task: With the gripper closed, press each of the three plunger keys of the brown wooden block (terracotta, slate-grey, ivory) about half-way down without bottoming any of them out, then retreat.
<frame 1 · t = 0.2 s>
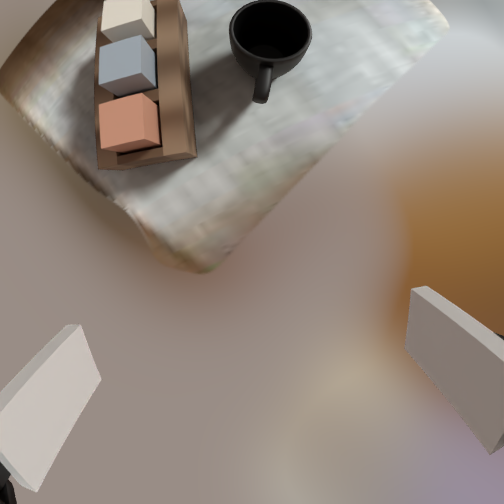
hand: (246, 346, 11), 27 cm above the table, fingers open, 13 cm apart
mug: (262, 74, 33), on the table
ivory key: (132, 22, 23), point 8 cm above the table, slide at 0.0 cm
brown wooden block: (152, 89, 33), on the table
slate key: (131, 70, 25), point 8 cm above the table, slide at 0.0 cm
terracotta key: (133, 126, 26), point 8 cm above the table, slide at 0.0 cm
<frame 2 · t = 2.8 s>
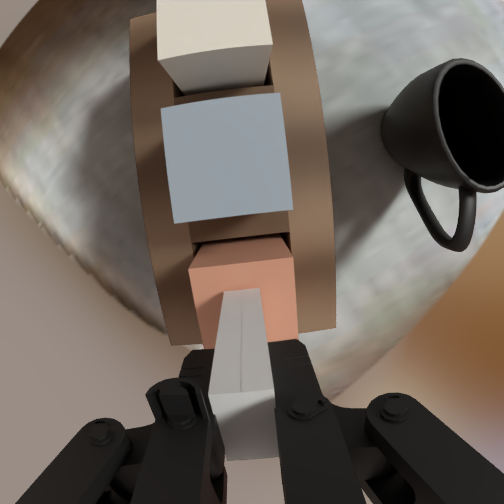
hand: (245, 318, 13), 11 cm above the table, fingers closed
mug: (404, 156, 22), on the table
ivory key: (217, 40, 12), point 8 cm above the table, slide at 0.0 cm
brown wooden block: (235, 166, 21), on the table
slate key: (230, 160, 14), point 8 cm above the table, slide at 0.0 cm
terracotta key: (245, 283, 16), point 7 cm above the table, slide at 1.1 cm, touching gripper
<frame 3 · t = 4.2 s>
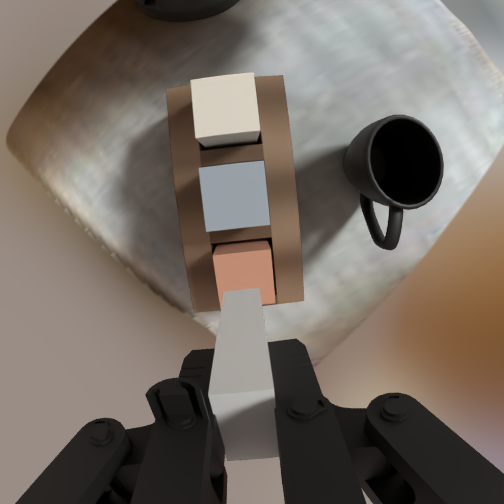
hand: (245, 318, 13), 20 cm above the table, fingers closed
mug: (362, 181, 31), on the table
ivory key: (227, 114, 22), point 8 cm above the table, slide at 0.0 cm
brown wooden block: (237, 191, 31), on the table
slate key: (235, 194, 23), point 8 cm above the table, slide at 0.0 cm
terracotta key: (244, 267, 27), point 6 cm above the table, slide at 1.8 cm
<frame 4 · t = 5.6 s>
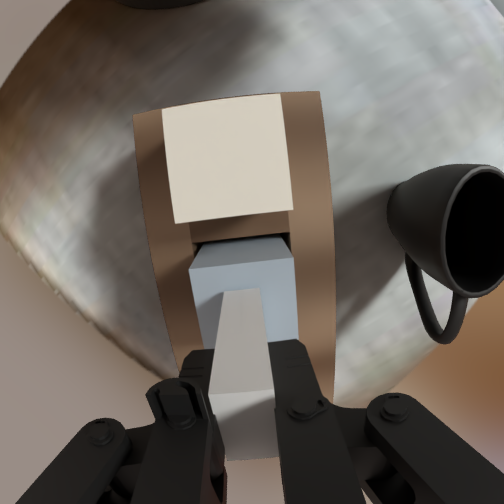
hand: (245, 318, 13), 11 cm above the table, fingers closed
mug: (407, 233, 23), on the table
ivory key: (230, 161, 14), point 8 cm above the table, slide at 0.0 cm
brown wooden block: (245, 252, 23), on the table
slate key: (246, 283, 16), point 7 cm above the table, slide at 1.0 cm, touching gripper
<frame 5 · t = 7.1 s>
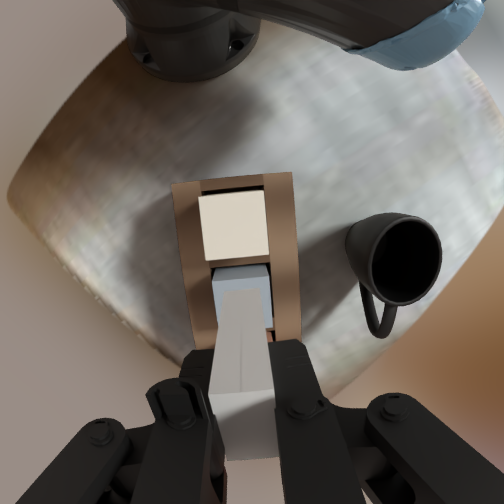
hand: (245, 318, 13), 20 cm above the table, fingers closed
mug: (362, 258, 33), on the table
ivory key: (235, 220, 24), point 8 cm above the table, slide at 0.0 cm
brown wooden block: (242, 271, 33), on the table
slate key: (242, 290, 27), point 6 cm above the table, slide at 1.8 cm
terracotta key: (249, 352, 28), point 6 cm above the table, slide at 1.8 cm
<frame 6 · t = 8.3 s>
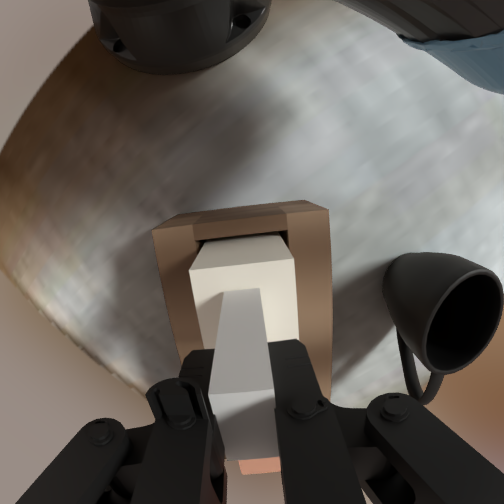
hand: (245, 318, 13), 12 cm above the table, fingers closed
mug: (400, 299, 26), on the table
ivory key: (246, 284, 16), point 8 cm above the table, slide at 0.2 cm, touching gripper
brown wooden block: (254, 322, 26), on the table
terracotta key: (265, 425, 21), point 6 cm above the table, slide at 1.8 cm
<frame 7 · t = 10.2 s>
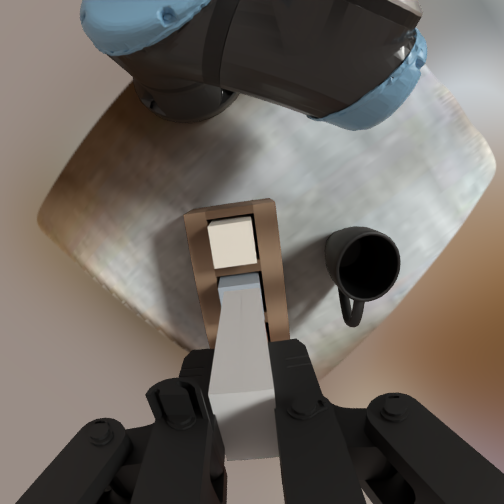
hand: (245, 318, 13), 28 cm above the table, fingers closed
mug: (340, 261, 41), on the table
ivory key: (233, 238, 34), point 6 cm above the table, slide at 1.8 cm
brown wooden block: (242, 276, 41), on the table
slate key: (241, 292, 35), point 6 cm above the table, slide at 1.8 cm
terracotta key: (249, 340, 37), point 6 cm above the table, slide at 1.8 cm
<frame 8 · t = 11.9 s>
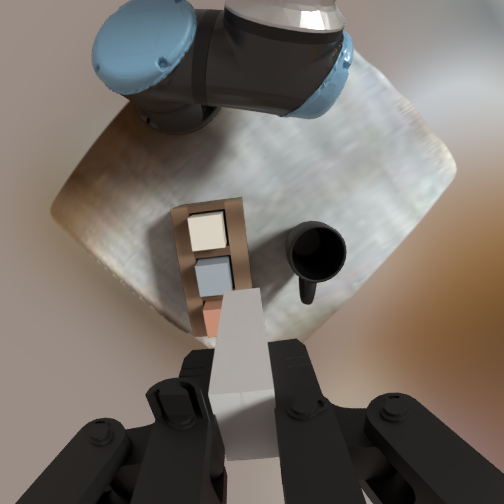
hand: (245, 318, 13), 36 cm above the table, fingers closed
mug: (302, 251, 50), on the table
ivory key: (209, 228, 42), point 6 cm above the table, slide at 1.8 cm
brown wooden block: (218, 261, 50), on the table
slate key: (215, 272, 44), point 6 cm above the table, slide at 1.8 cm
terracotta key: (222, 312, 45), point 6 cm above the table, slide at 1.8 cm
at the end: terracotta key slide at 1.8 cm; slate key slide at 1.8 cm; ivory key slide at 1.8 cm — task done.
